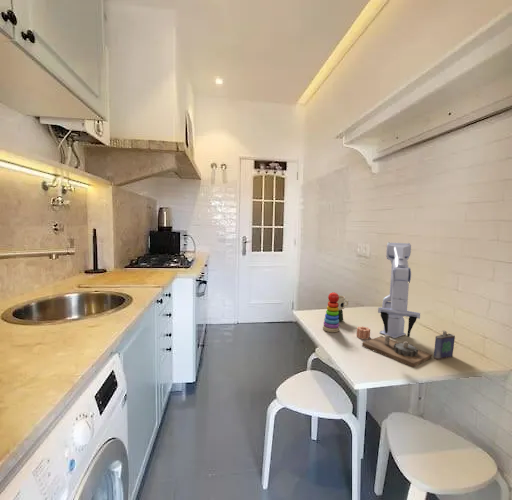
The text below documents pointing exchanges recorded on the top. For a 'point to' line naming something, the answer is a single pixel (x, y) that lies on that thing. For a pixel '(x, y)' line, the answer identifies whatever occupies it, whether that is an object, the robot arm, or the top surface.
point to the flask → (444, 346)
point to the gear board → (397, 350)
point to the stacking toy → (332, 314)
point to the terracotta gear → (363, 332)
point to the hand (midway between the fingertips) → (397, 334)
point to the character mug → (341, 306)
